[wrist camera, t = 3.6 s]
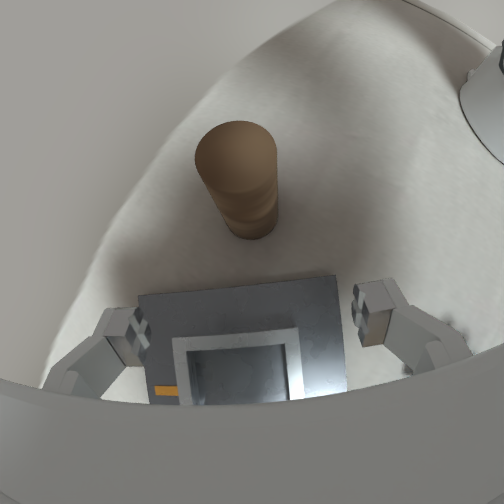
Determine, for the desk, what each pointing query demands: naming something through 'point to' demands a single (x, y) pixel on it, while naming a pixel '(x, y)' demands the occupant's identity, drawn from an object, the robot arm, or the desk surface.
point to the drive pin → (241, 176)
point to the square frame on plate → (245, 343)
